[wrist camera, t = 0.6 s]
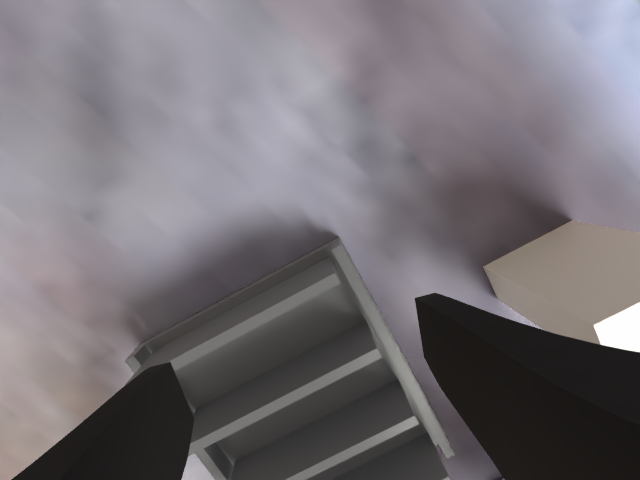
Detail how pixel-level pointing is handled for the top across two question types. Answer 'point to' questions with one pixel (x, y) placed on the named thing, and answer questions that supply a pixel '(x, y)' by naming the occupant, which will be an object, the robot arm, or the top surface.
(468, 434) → the top surface
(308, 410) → the dish rack
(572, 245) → the cream rectangular block
